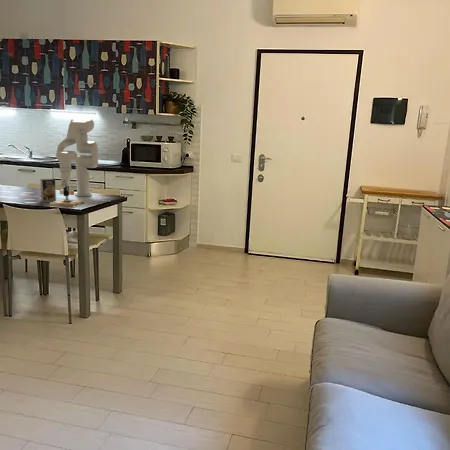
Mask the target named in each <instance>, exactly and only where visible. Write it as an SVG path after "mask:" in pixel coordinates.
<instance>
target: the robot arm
mask: <svg viewBox="0 0 450 450" xmlns="http://www.w3.org/2000/svg"><path fill="white" fill-rule="evenodd" d="M94 127H95V121H94V120H93V119H92V118H82V117H81V118H79V117H77V118H76V117H75V118H72V119H70V122H69V124H68V129H67V132H66V137H65V138H64V139H63V140H61V142H59V144H58V145H57V150H56V153H55V157H56V160H57V161H59V171H60V186H61V187H63V189H62V190H63V191H64V194H63V197H65V196H68V197H69V195H68V190H70V185H71V183H72V182H71V179H72V178H71V173H72V162H74V164H75V170H76V171H75V172H76V193H74V196H75V197H91V196H92V193H91V192H92V191H93V189H92V188H90V172H89V170H88V169H89V168H90V169H95V168H97V167H98V165H99V148H98V143H97V142H96V141H89V137H88V133H90V132H91V131H93V130H94ZM75 144H76V145H75ZM72 145H75V146H76V151H77V152H76V151H74V150H65V149H66V148H67V147H70V146H72ZM78 153H79V154H80V155H78ZM83 154H84V155H83ZM87 154H88V155H87Z"/></svg>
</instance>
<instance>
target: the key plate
mask: <svg viewBox="0 0 450 450" xmlns="http://www.w3.org/2000/svg"><path fill="white" fill-rule="evenodd" d="M64 200H65V198H62V199H58V200H56V201H53V202H48V203H49V206H51V207H59V206H61V207H60V208H69V207H71V208H74V206H75V207H78V206H81V205H84V204H85V200H81V199H80V200H79V199H70V201H67V202H66V201H64ZM77 205H78V206H77Z"/></svg>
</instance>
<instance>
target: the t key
mask: <svg viewBox="0 0 450 450" xmlns="http://www.w3.org/2000/svg"><path fill="white" fill-rule="evenodd" d="M59 194H60V195H64V191H63V189H59ZM69 196H75V190H74V189H69V190H68V196H64V197H65V198H64V199H65V200H64V201H66V202H67V201H70V200H71V198H70V199H69Z"/></svg>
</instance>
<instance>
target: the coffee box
mask: <svg viewBox="0 0 450 450" xmlns="http://www.w3.org/2000/svg"><path fill="white" fill-rule="evenodd" d="M56 190H57V189H56V179H54V178H41V179H40V201H41V202H43V203H50V202H52V201H53V202H54V201H57V198H56V197H57V194H56V192H57V191H56Z"/></svg>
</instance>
